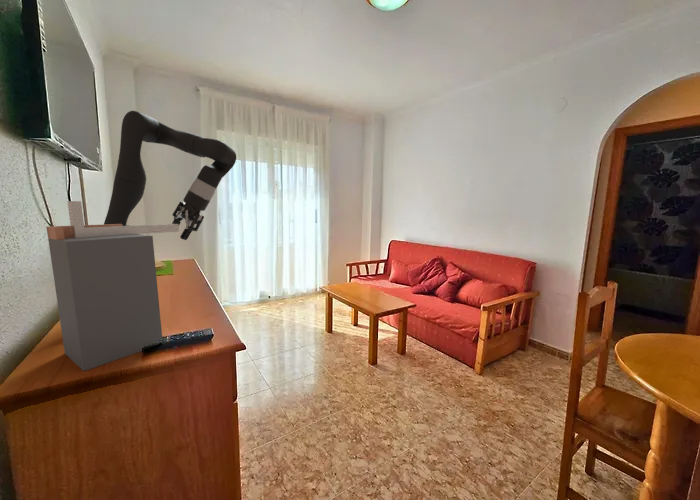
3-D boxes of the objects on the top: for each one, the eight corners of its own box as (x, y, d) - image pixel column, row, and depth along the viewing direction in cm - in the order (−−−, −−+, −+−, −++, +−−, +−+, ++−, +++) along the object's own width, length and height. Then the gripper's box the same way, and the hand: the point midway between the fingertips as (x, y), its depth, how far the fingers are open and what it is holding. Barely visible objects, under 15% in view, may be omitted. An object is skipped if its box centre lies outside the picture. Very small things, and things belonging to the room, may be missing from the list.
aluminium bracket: (72, 237, 79) (67, 201, 77) (174, 231, 100) (172, 202, 99) (75, 238, 77) (70, 201, 76) (178, 231, 98) (176, 202, 97)
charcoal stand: (64, 353, 81) (46, 226, 77) (139, 331, 96) (128, 223, 91) (83, 371, 73) (64, 228, 68) (162, 343, 87) (151, 225, 82)
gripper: (181, 183, 105) (158, 223, 105) (200, 196, 98) (176, 239, 98) (199, 192, 112) (178, 230, 111) (219, 205, 104) (196, 245, 104)
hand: (177, 234), depth 104 cm, fingers open, 8 cm apart
